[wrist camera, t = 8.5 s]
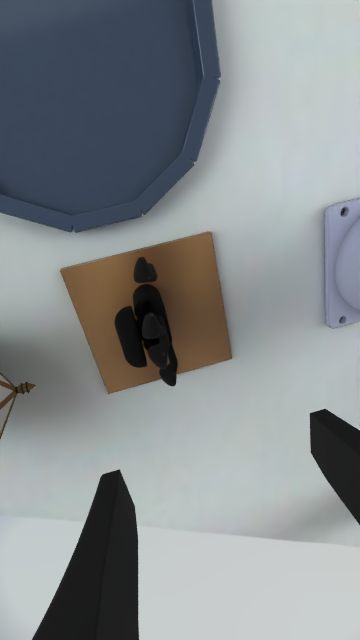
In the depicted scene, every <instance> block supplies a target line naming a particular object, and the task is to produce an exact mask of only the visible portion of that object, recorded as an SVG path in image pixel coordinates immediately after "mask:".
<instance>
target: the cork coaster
mask: <svg viewBox="0 0 360 640" xmlns="http://www.w3.org/2000/svg"><path fill="white" fill-rule="evenodd" d="M140 257H144V258H145V259H146V261H147V263H152V264H153V265H154V268H155V270H156V272H157V275H158V277H157V280H156V281H154V282H147V283H136V282H135V281H134V278H133V274H134V268H135V264H136V261H137V259H138V258H140ZM60 272H61V274H62V277H63V279H64V282H65V285H66V287H67V290H68V292H69V295H70V297H71V300H72V302H73V305H74V307H75V310H76V313H77V315H78V318H79V320H80V323H81V325H82V328H83V330H84V333H85V336H86V338H87V341H88V343H89V346H90V348H91V351H92V353H93V356H94V359H95V361H96V364H97V366H98V369H99V371H100V374H101V376H102V379H103V382H104V384H105V387H106V389H107V392H108V394H110V393H113V392H117V391H121V390H124V389H128V388H131V387H135V386H138V385H142V384H145V383H149V382H152V381H156V380H159V379H162V378H161V376H160V374H159V370H160V368H159V367H157V366H156V365H155V364H154V363H153V362H152V361H151V359H150V358H149V356H148V353H147V352H148V351H147V350H146V349H145V348H144V346H143V348H144V352H145V356H146V360H147V367H142V368H137V367H133V366H131V365H130V364H129V363H128V362H127V361H126V359H125V357H124V353H123V350H122V347H121V344H120V341H119V338H118V335H117V332H116V328H115V324H114V321H115V317H116V315H117V313H118V312H119V311H120V310H121V309H122V308H124V307H127V306H131V307H132V309H133V313H134V306H133V293H134V291H135V289H136V288H137V287H138V286H140V285H142V284H151V285H153V286H155V287H156V288H157V289H158V291H159V293H160V295H161V298H162V301H163V304H164V306H165V310H166V314H167V319H168V323H169V327H170V331H171V335H172V345H173V348H174V351H175V354H176V357H177V361H178V367H177V373H176V375H177V374H180V373H184V372H187V371H191V370H194V369H198V368H201V367H205V366H208V365H212V364H215V363H219V362H222V361H226V360H229V359H232V356H231V350H230V344H229V337H228V331H227V325H226V319H225V313H224V307H223V301H222V295H221V289H220V283H219V276H218V270H217V264H216V258H215V252H214V246H213V240H212V234H211V232H205V233H201V234H197V235H193V236H189V237H185V238H181V239H177V240H173V241H169V242H165V243H161V244H157V245H153V246H149V247H145V248H141V249H137V250H133V251H129V252H125V253H121V254H117V255H113V256H110V257H106V258H102V259H98V260H94V261H90V262H86V263H82V264H78V265H74V266H70V267H66V268H62V269H61V270H60ZM134 316H135V314H134ZM135 319H136V318H135ZM141 341H142V340H141ZM142 344H143V343H142ZM168 364H169V359H168V362H167V365H168Z"/></svg>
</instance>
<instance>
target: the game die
mask: <svg viewBox="0 0 360 640" xmlns="http://www.w3.org/2000/svg"><path fill="white" fill-rule="evenodd" d="M35 386H36V385H34V384H30V383H28V382H26V383H24V384H22V383H21V385H19V386H17V387H15V386H14V385H13V384H12V383H11V382H10V381H9V380H8V379H7V378H6V377H5V376H4V375H3V374H2V373H1V372H0V439H1V436H2V434H3V431H4V428H5V425H6V423H7V420H8V417H9V414H10V412H11V409H12V406H13V404H14V401H15V398H16V395H17V394H18V393H22V394H24V393H25V392H28V393H29V392H30V390H31V389H32V388H34V387H35Z"/></svg>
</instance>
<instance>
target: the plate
mask: <svg viewBox="0 0 360 640" xmlns="http://www.w3.org/2000/svg"><path fill="white" fill-rule="evenodd" d="M220 77H221V72H220V64H219V56H218V48H217V40H216V32H215V24H214V16H213V8H212V0H0V213H4V214H7V215H11V216H14V217H18V218H22V219H25V220H29V221H32V222H36V223H39V224H43V225H46V226H50V227H53V228H57V229H60V230H64V231H68V232H72V231H73V230H74V231H75V232H81V231H85V230H89V229H93V228H97V227H101V226H105V225H109V224H113V223H118V222H122V221H126V220H130V219H134V218H138V217H141V216H142V214H141V212H142V213H143V214H144V215H145V214H146V213H147V212H148V211H149V210H150V209H151V208H152V207H153V206H154V205H155V204H156V203H157V202H158V201H159V200H160V199H161V198H162V197H163V196H164V195H165V194H166V193H167V192H168V191H169V190H170V189H171V188H172V187H173V186H174V185H175V184H176V183H177V182H178V181H179V180H180V179H181V178H182V177H183V176H184V175H185V174H186V173H187V172H188V171H189V170H190V169H191V168H192V167H193V166H194V163H193V162H196V161H197V158H198V155H199V151H200V148H201V145H202V141H203V138H204V135H205V131H206V128H207V125H208V121H209V118H210V115H211V111H212V108H213V105H214V101H215V98H216V95H217V91H218V88H219V85H220V80H218V79H219V78H220Z"/></svg>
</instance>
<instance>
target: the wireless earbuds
mask: <svg viewBox="0 0 360 640" xmlns="http://www.w3.org/2000/svg"><path fill="white" fill-rule="evenodd" d="M157 277H158V275H157V272H156V270H155V268H154V265H153V264H152V263H147V261H146V259H145V258H144V257H140V258H138V259H137V261H136V264H135V268H134V274H133V278H134V281H135V282H136V283H147V282H154V281H156V280H157ZM133 306H134V313H133V309H132V307H131V306H127V307H124V308H122V309H121V310H120V311H119V312H118V313H117V315H116V317H115V321H114V324H115V328H116V332H117V335H118V338H119V341H120V344H121V347H122V350H123V353H124V357H125V359H126V361H127V362H128V363H129V364H130V365H131V366H133V367H137V368H142V367H147V360H146V356H145V352H144V348H145V349H146V350H147V351H148V352H147V353H148V356H149V358H150V359H151V361H152V362H153V363H154V364H155V365H156V366H157V367H159V368H160V370H159V374H160V376H161V378H162V379H163V381H164V382H165V383H167V384H168V385H170V386H175V385H176V373H177V367H178V361H177V357H176V354H175V351H174V348H173V345H172V335H171V331H170V327H169V323H168V319H167V314H166V310H165V306H164V304H163V301H162V298H161V295H160V293H159V291H158V289H157V288H156V287H155V286H153V285H151V284H142V285H140V286H138V287H137V288H136V289H135V291H134V293H133ZM134 314H135V316H134ZM135 318H136V319H135ZM141 340H142V341H141ZM142 343H143V344H142ZM143 346H144V348H143ZM168 359H169V364H168V365H167V362H168Z"/></svg>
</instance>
